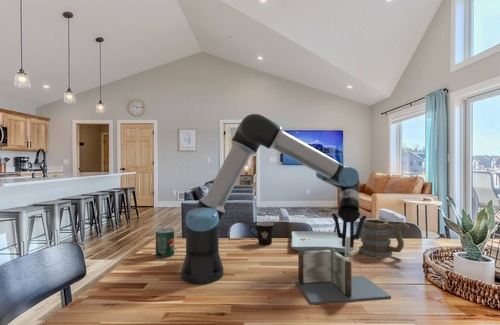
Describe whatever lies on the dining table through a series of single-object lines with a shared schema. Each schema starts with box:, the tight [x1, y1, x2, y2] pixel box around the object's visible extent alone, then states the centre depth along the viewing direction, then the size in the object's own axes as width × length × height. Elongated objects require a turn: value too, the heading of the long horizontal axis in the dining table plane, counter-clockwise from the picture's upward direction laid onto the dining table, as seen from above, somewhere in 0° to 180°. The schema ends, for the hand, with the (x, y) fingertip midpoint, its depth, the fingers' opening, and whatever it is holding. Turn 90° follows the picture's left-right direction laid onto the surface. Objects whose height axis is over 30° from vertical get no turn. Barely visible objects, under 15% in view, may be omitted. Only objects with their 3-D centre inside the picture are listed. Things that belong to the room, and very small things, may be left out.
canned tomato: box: [155, 228, 175, 259], centre depth 121 cm, size 8×8×11 cm
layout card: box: [294, 275, 392, 305], centre depth 88 cm, size 25×15×1 cm, turn 98°
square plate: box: [290, 230, 355, 254], centre depth 135 cm, size 27×27×4 cm
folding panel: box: [333, 252, 352, 297], centre depth 86 cm, size 10×2×10 cm, turn 7°
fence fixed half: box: [297, 249, 336, 284], centre depth 92 cm, size 13×2×10 cm, turn 98°
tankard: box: [358, 218, 410, 258], centre depth 121 cm, size 20×13×15 cm, turn 44°
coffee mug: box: [248, 221, 275, 246], centre depth 138 cm, size 12×9×10 cm
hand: (347, 254), depth 99 cm, fingers closed
